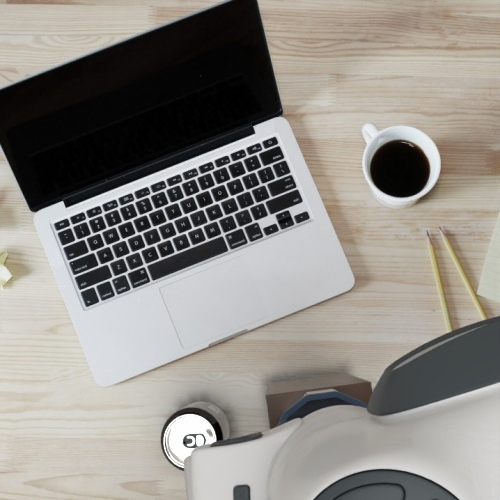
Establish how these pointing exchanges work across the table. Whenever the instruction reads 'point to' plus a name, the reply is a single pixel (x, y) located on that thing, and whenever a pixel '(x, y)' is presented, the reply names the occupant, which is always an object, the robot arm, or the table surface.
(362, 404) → the bowl
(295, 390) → the plinth
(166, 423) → the beverage can
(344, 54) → the table surface
